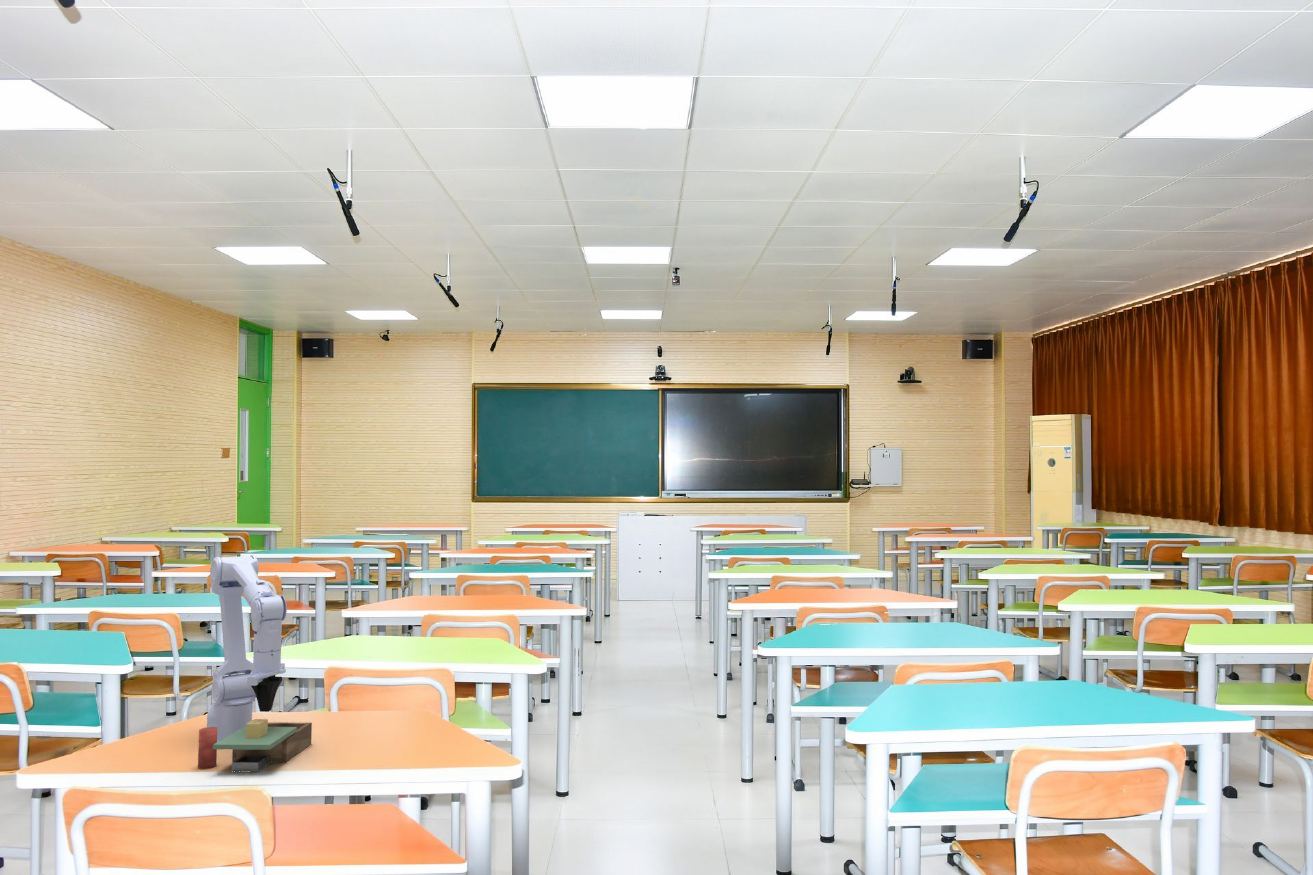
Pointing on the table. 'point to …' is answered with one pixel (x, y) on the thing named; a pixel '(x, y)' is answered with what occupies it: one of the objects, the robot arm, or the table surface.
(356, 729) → the table surface
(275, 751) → the wooden box
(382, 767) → the table surface
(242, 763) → the key socket
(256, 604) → the robot arm
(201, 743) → the key peg
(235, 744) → the lid
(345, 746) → the table surface
